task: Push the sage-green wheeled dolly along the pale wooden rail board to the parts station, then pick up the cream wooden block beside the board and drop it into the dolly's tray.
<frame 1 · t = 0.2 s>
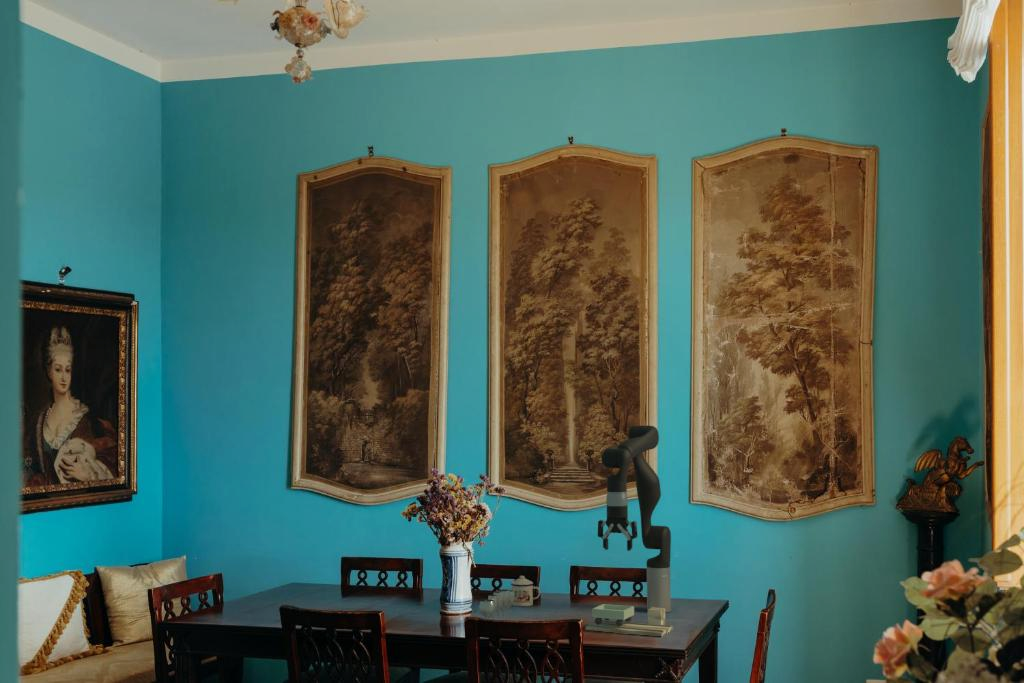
hand: (617, 550, 381), 29 cm above the table, tool pointing down, fingers open, 8 cm apart
teacup with lid: (525, 605, 435), on the table
goblet set: (498, 630, 385), on the table
cream block: (656, 625, 390), on the table
rail board: (629, 630, 381), on the table
dolly: (613, 615, 384), point 5 cm above the table, slide at 0.0 cm
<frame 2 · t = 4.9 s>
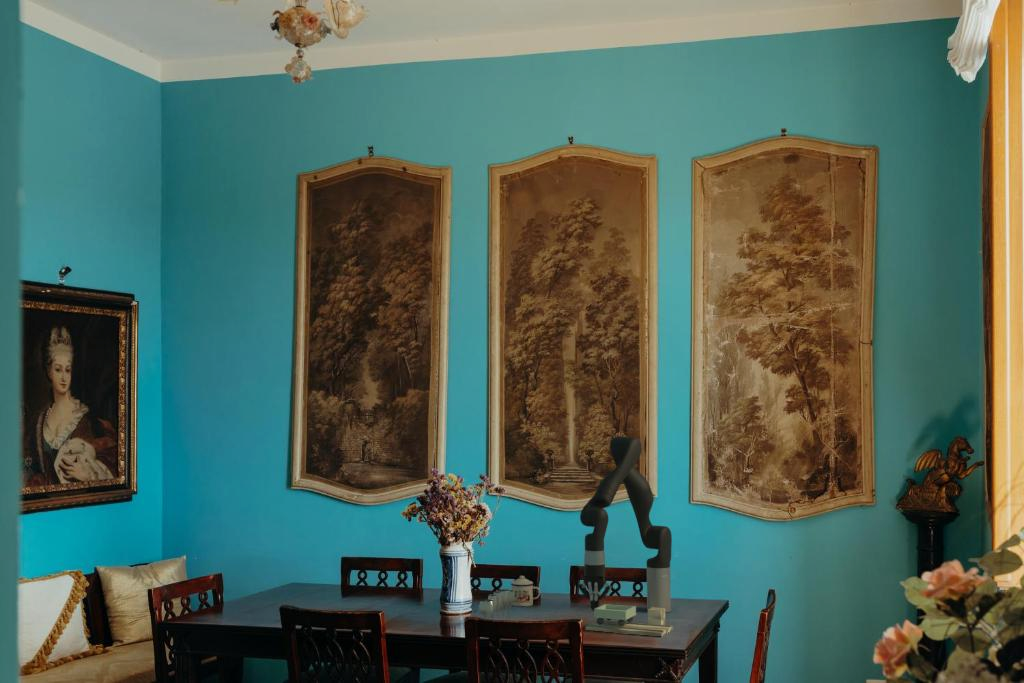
hand: (595, 610, 387), 6 cm above the table, tool pointing down, fingers closed
dolly: (615, 615, 384), point 5 cm above the table, slide at 0.7 cm, touching gripper
everything else where it was.
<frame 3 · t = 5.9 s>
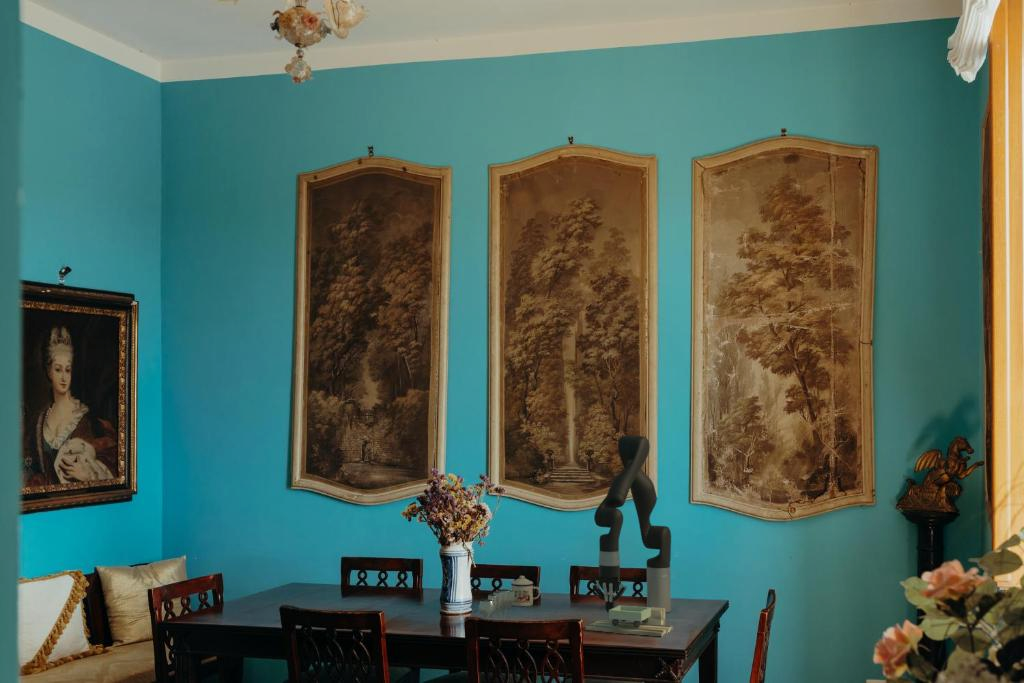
hand: (609, 612, 385), 6 cm above the table, tool pointing down, fingers closed
dolly: (630, 616, 381), point 5 cm above the table, slide at 6.4 cm, touching gripper
everything else where it was.
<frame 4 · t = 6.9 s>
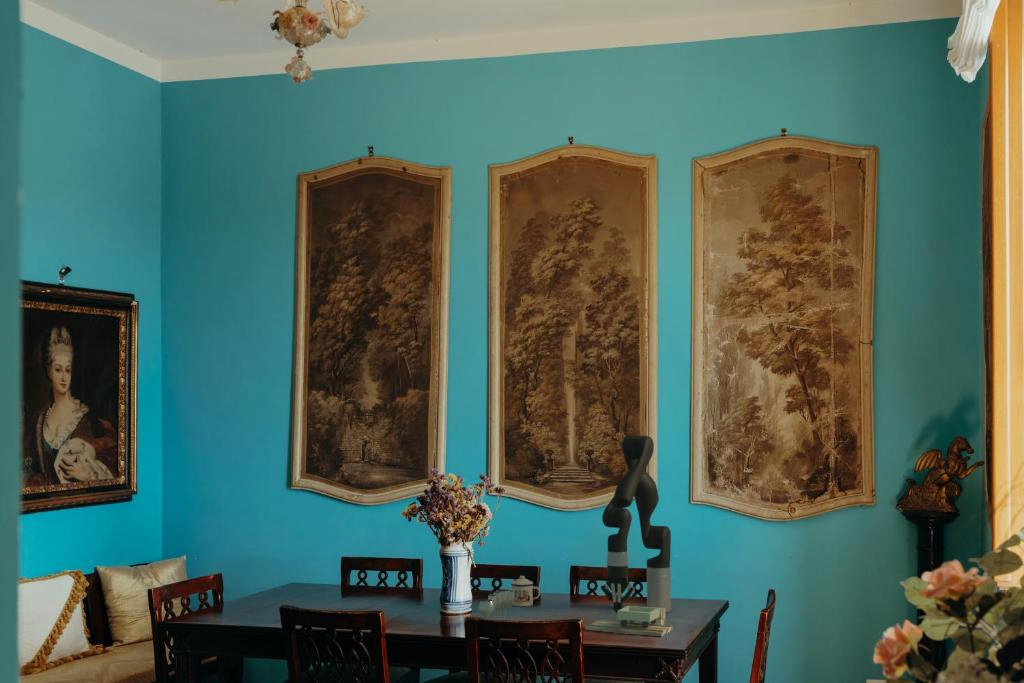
hand: (618, 612, 383), 6 cm above the table, tool pointing down, fingers closed
dolly: (638, 617, 380), point 5 cm above the table, slide at 9.6 cm, touching gripper
everything else where it was.
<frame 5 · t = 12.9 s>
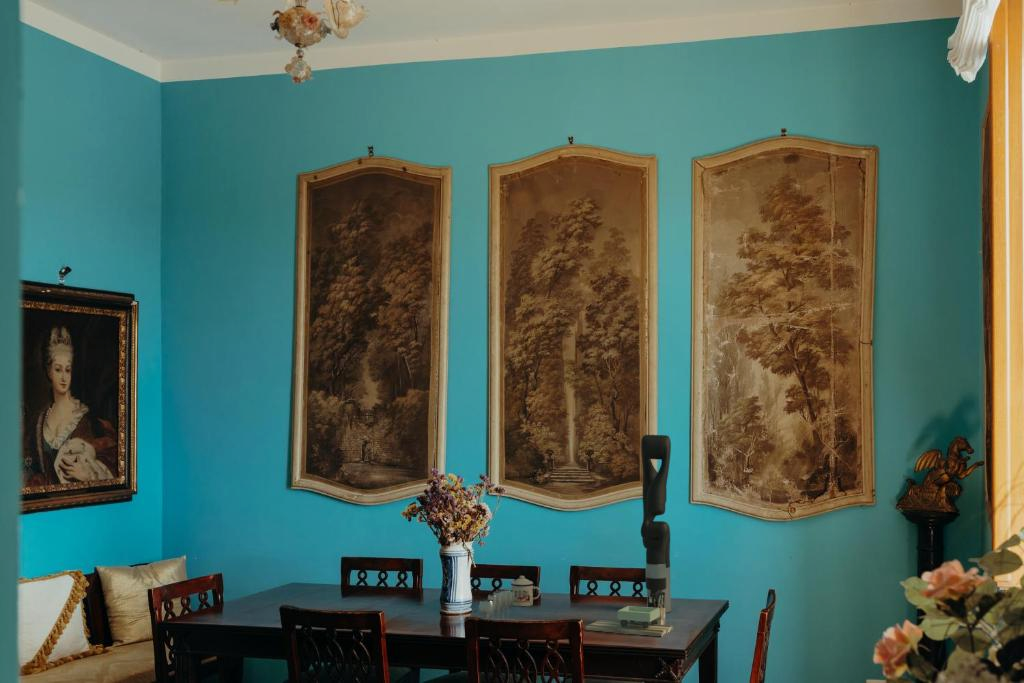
hand: (656, 622, 390), 1 cm above the table, tool pointing down, fingers closed on cream block, 5 cm apart
cream block: (656, 625, 390), on the table, touching gripper
dolly: (638, 617, 380), point 5 cm above the table, slide at 9.7 cm
everything else where it was.
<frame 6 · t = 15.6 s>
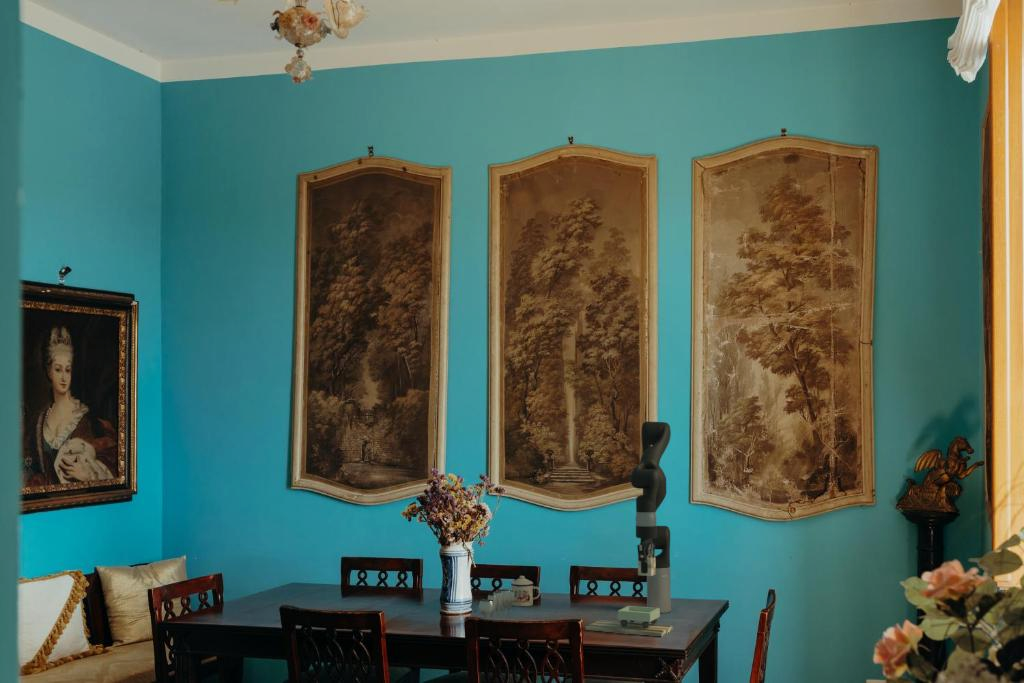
hand: (646, 572, 385), 20 cm above the table, tool pointing down, fingers closed on cream block, 5 cm apart
cream block: (646, 574, 385), point 19 cm above the table, touching gripper
everything else where it was.
when the fingers open (9 cm above the table, at t = 18.4 s): cream block drops 2 cm, resting on dolly.
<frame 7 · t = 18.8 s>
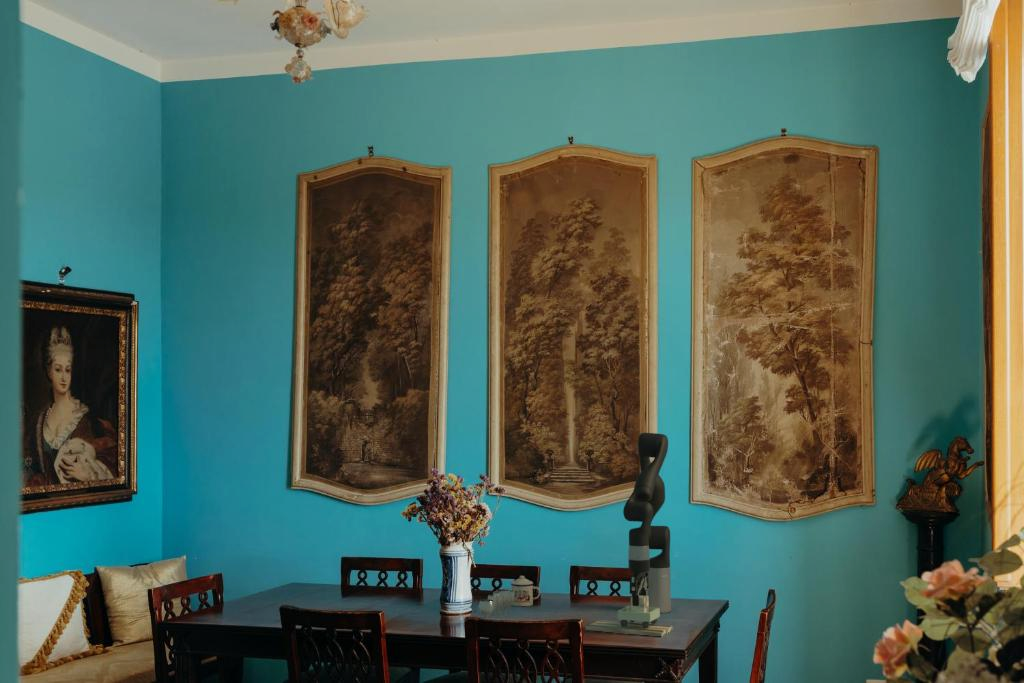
hand: (639, 604, 380), 10 cm above the table, tool pointing down, fingers open, 8 cm apart
cream block: (639, 613, 380), point 6 cm above the table, touching dolly
dolly: (638, 617, 380), point 5 cm above the table, slide at 9.7 cm, touching cream block
everything else where it was.
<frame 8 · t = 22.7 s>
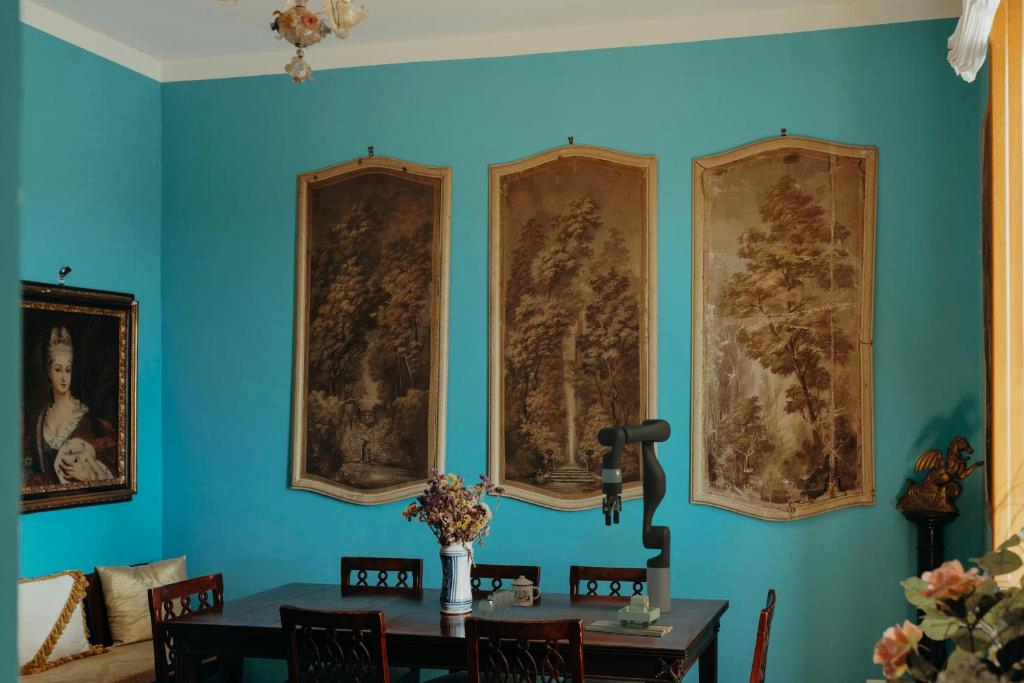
hand: (612, 524, 398), 36 cm above the table, tool pointing down, fingers open, 8 cm apart
nothing on the table moved.
at the end: dolly slide at 9.7 cm; cream block inside the target area on the dolly (0.4 cm from its centre), point 3.9 cm above the dolly's base; the gripper is holding nothing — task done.
